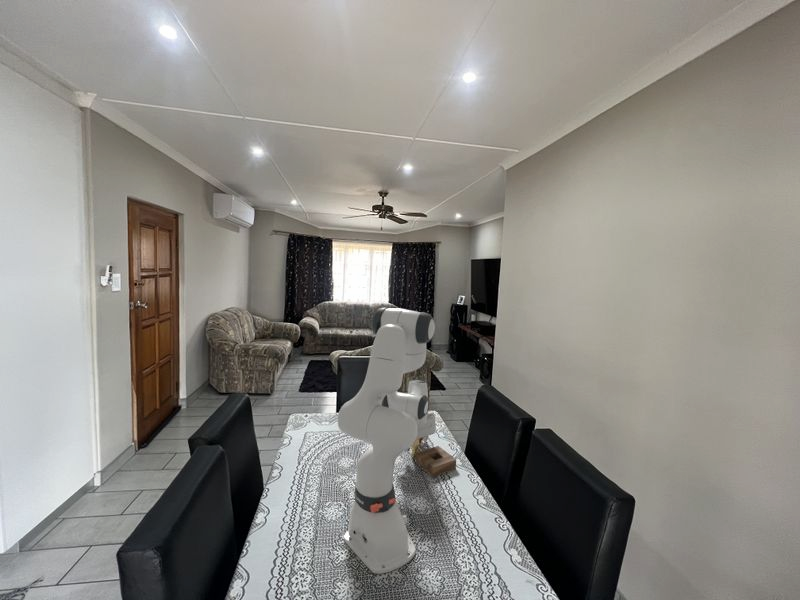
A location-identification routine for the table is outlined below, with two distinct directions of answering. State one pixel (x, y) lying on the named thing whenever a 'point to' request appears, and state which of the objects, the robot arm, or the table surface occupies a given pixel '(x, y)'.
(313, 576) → the table surface
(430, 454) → the socket block
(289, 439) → the table surface
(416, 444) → the pin
